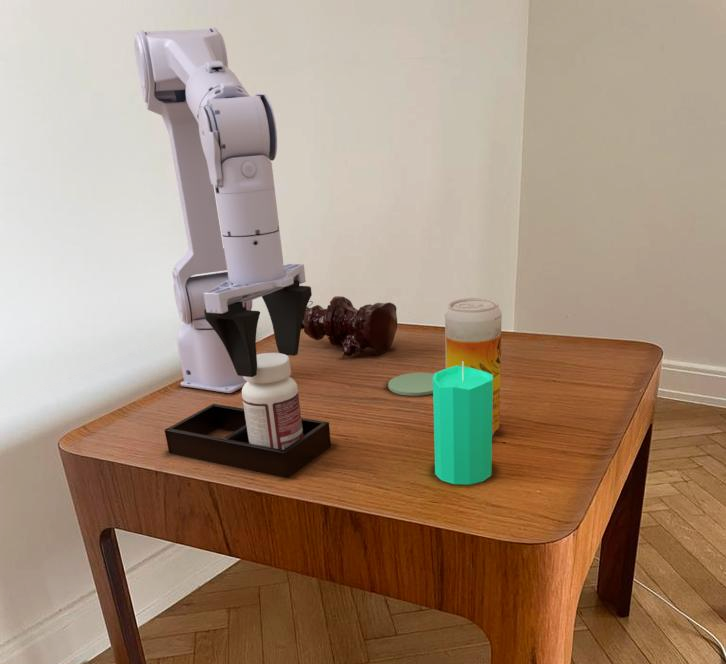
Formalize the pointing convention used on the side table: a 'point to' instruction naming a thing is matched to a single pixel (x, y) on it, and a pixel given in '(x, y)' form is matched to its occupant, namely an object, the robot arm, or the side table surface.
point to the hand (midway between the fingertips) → (268, 364)
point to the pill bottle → (272, 403)
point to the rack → (243, 442)
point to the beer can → (476, 341)
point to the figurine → (352, 325)
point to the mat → (412, 384)
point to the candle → (463, 424)
